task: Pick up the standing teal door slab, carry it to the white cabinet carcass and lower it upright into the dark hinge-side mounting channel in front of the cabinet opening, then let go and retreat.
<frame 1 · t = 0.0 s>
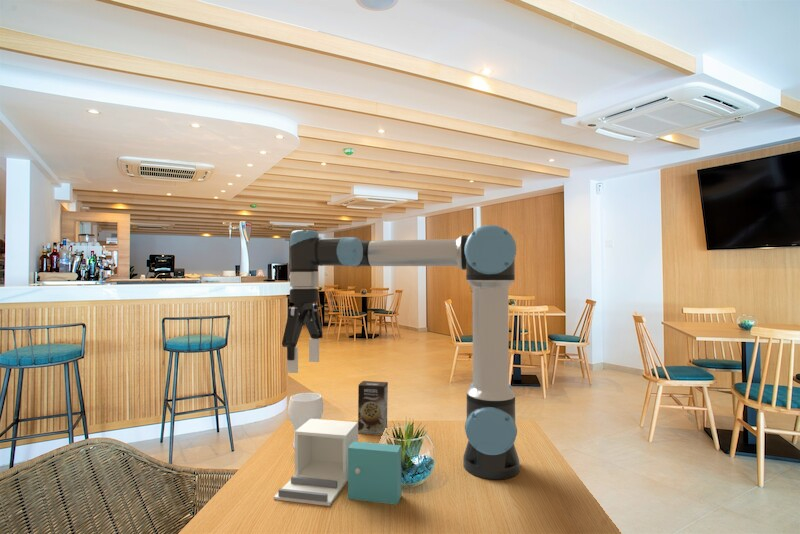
hand: (303, 366, 116), 28 cm above the table, fingers open, 13 cm apart
cup: (305, 446, 133), on the table
door: (374, 497, 102), on the table
cabinet: (327, 471, 115), on the table
coffee box: (372, 431, 145), on the table
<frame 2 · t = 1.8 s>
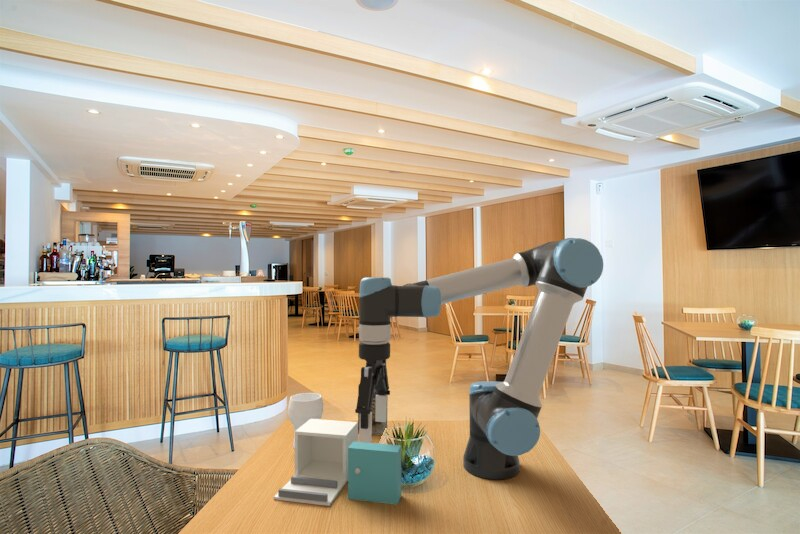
hand: (373, 431, 102), 16 cm above the table, fingers open, 13 cm apart
nothing on the table moved.
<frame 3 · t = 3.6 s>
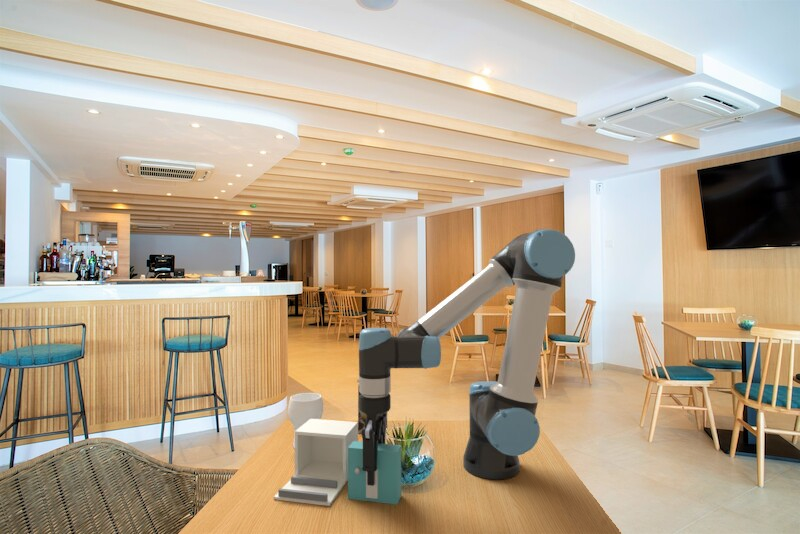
hand: (374, 492, 102), 1 cm above the table, fingers closed on door, 4 cm apart
door: (374, 497, 102), on the table, touching gripper
everything else where it was.
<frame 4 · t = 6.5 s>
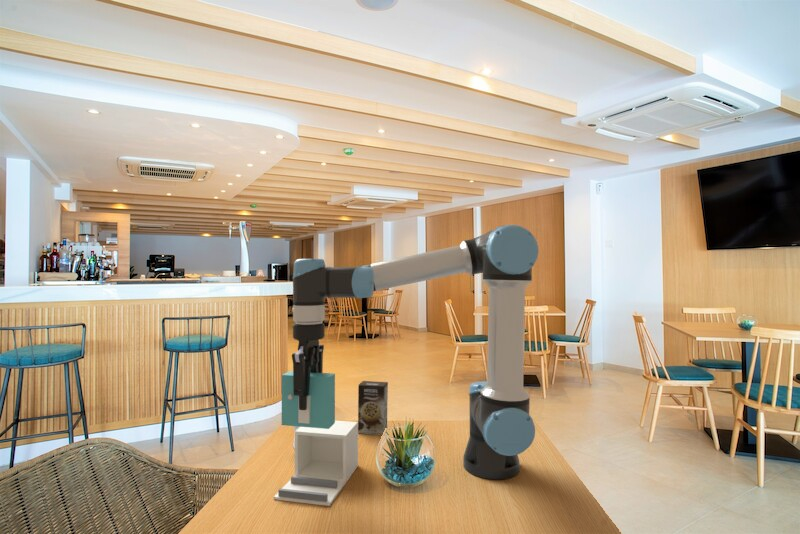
hand: (308, 419, 104), 18 cm above the table, fingers closed on door, 4 cm apart
door: (308, 424, 104), point 17 cm above the table, touching gripper
everything else where it was.
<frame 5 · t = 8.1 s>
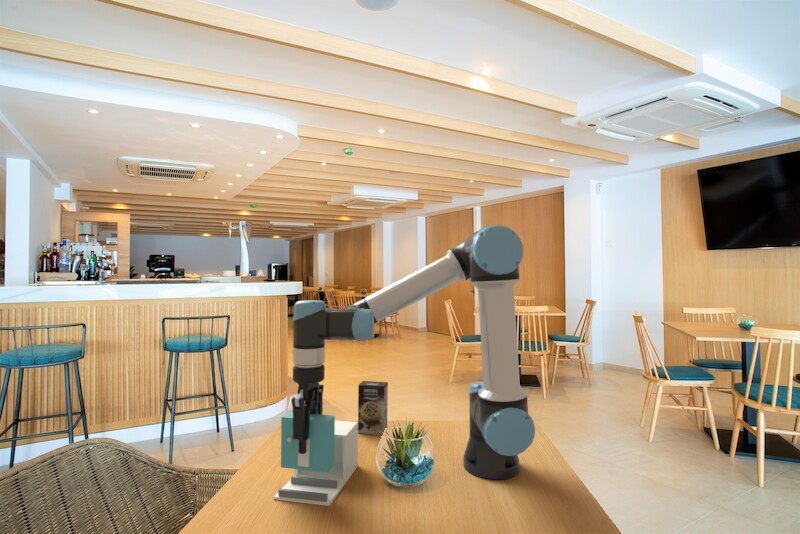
hand: (308, 461, 104), 8 cm above the table, fingers closed on door, 4 cm apart
door: (307, 466, 104), point 7 cm above the table, touching gripper
everything else where it was.
when the fingers open (4 cm above the table, at t = 9.4 s): door drops 2 cm, resting on cabinet.
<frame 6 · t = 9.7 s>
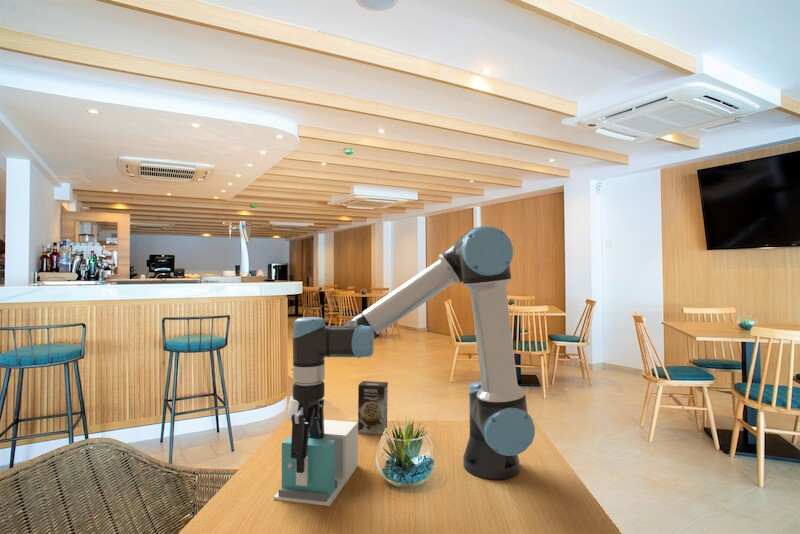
hand: (308, 477, 104), 4 cm above the table, fingers open, 7 cm apart
door: (308, 491, 104), point 1 cm above the table, touching cabinet
everything else where it was.
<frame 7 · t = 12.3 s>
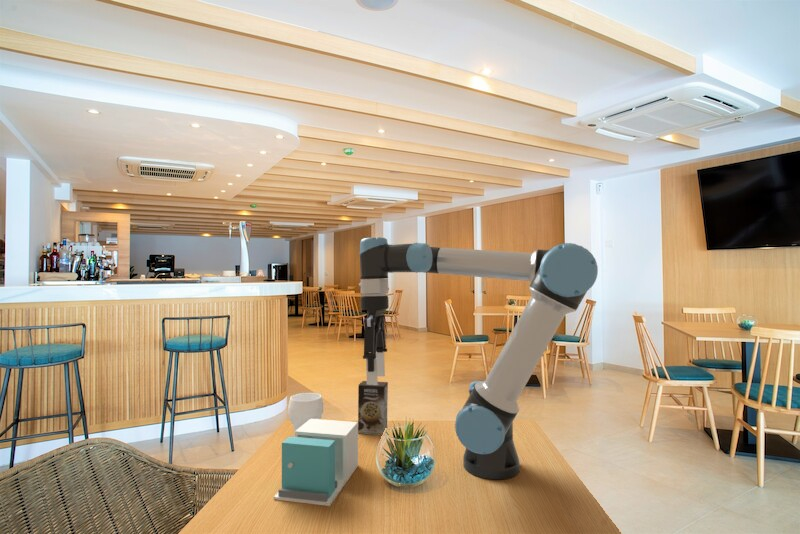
hand: (376, 379, 116), 25 cm above the table, fingers open, 8 cm apart
nothing on the table moved.
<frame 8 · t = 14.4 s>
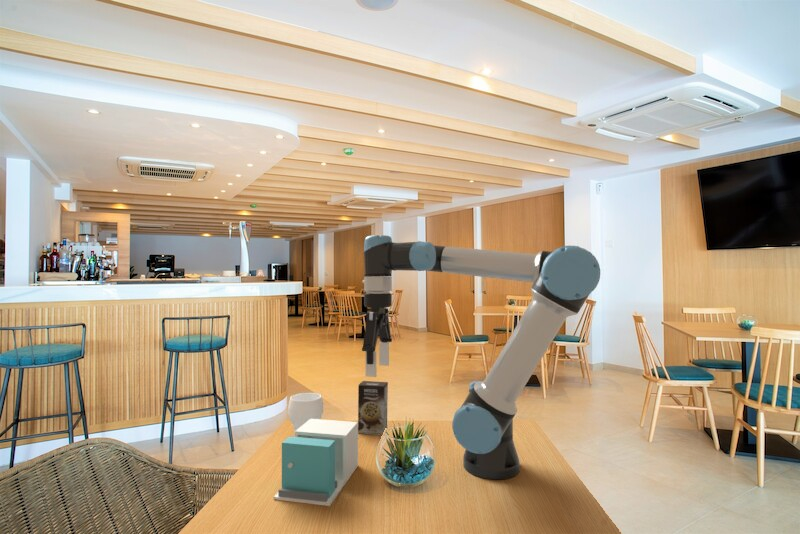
hand: (377, 370, 117), 27 cm above the table, fingers open, 13 cm apart
nothing on the table moved.
at the end: door 0.0 cm from the target spot on the cabinet, point 0.6 cm above the cabinet's base; door tilted 0°; the gripper is holding nothing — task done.
